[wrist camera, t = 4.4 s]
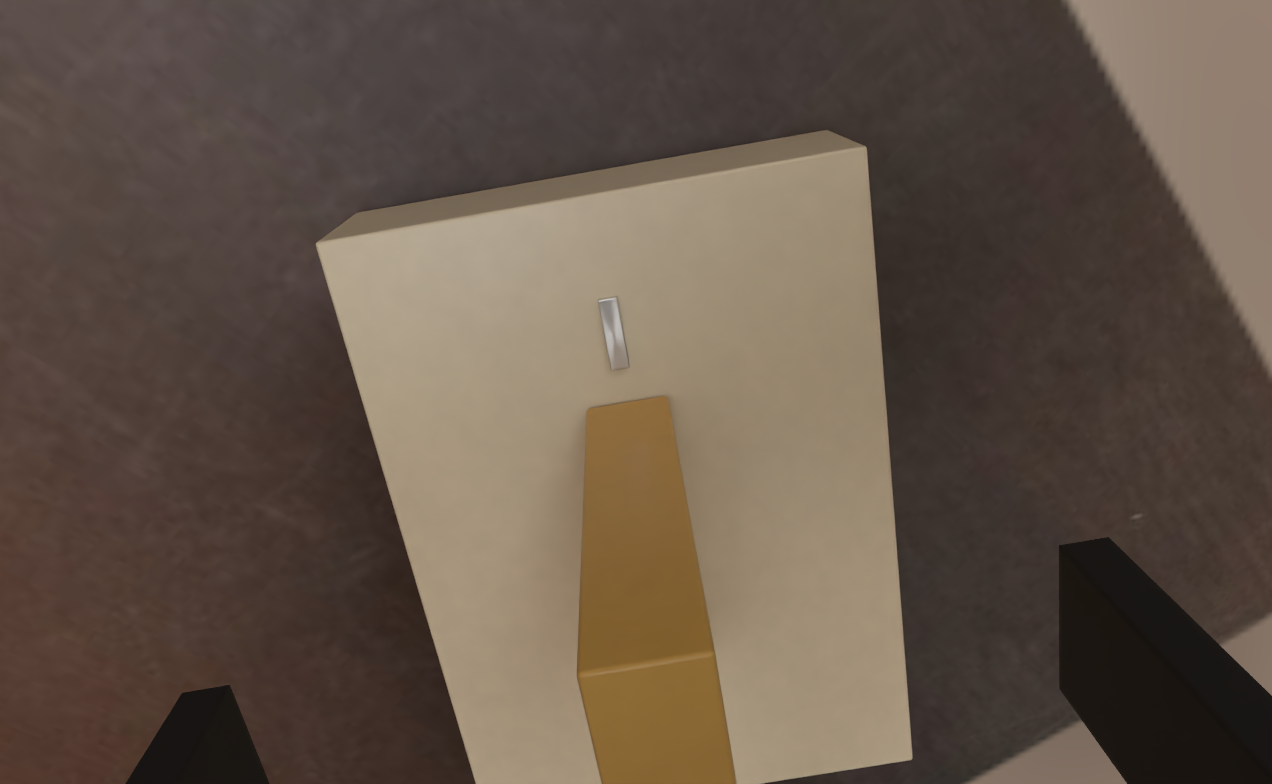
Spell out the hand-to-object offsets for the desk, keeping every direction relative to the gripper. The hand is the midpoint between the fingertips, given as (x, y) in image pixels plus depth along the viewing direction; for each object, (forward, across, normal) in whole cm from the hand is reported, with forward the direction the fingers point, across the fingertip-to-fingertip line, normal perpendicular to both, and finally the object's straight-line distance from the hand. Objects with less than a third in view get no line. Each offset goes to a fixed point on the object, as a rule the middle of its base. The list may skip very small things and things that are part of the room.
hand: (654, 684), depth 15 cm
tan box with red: (+5, 0, 0) cm, 5 cm away
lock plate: (+8, 0, 0) cm, 8 cm away
